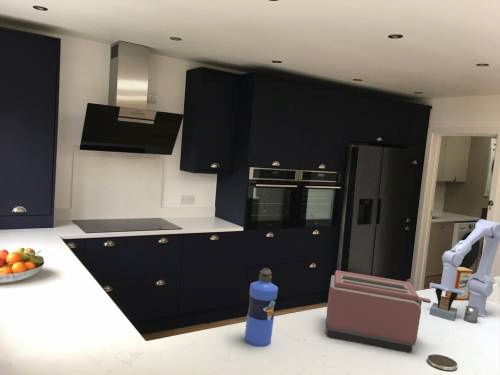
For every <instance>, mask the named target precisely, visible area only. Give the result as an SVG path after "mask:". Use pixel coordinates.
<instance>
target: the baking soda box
mask: <svg viewBox="0 0 500 375" xmlns="http://www.w3.org/2000/svg"><path fill="white" fill-rule="evenodd" d="M472 274H475V270H472V269H470V268H467V267H465V266H458V269H457V275H456V282H455V288H456V289H459V290H463V291H465V296H462V295H457V297H456V298H455V299H454V301H469V296H470V292H469V289H468V288H467V283H468V281H469V279H470V278H471V275H472ZM450 295H451V293H450V292H446V291H445V296H444V297H448V298H450Z"/></svg>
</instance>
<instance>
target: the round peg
mask: <svg viewBox="0 0 500 375" xmlns="http://www.w3.org/2000/svg"><path fill="white" fill-rule="evenodd" d="M478 312H479V309H478V308H476V307H473V306H468V305H465V309H464V316H463V320H464V321H465V322H466V323H469V324H477V323H478V318H479V316H478Z"/></svg>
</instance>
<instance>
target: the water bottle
mask: <svg viewBox="0 0 500 375" xmlns="http://www.w3.org/2000/svg"><path fill="white" fill-rule="evenodd" d="M272 274H273V272H272V271H271V269H269V268H268V267H267V268H266V267H265V268H263V269H262V270H260V271H259V275H258V280H257V281H253V282H251V283H250V286H249V294H248V295H249V307H248V311H247V315H246V321H245V324H246V325H245V331H244V341H245V343H247V344H248V345H250V346H252V347H253V346H254V347H262V348H263V347H268V346H270V345H271V343H272V335H273V334H272V333H273V327H274V321H275V320H274V319H275V318H274V315H275V314H274V312H275V311H274V308H275V304H276V300H277V298H278V290H279V287H278V286H277V285H275V284H273V283H272V278H273V277H272Z"/></svg>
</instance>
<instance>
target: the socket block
mask: <svg viewBox="0 0 500 375" xmlns="http://www.w3.org/2000/svg"><path fill="white" fill-rule="evenodd" d="M457 313H458V308H456V307H452V306H451V308H450V309H449V311H447V310H443V309H439V306H438V302H433V303H432V305H431V306H430V308H429V315H430V316H433V317H437V318H441V319H444V320H448V321H452V322H454V321H455V319H456V316H457Z"/></svg>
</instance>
